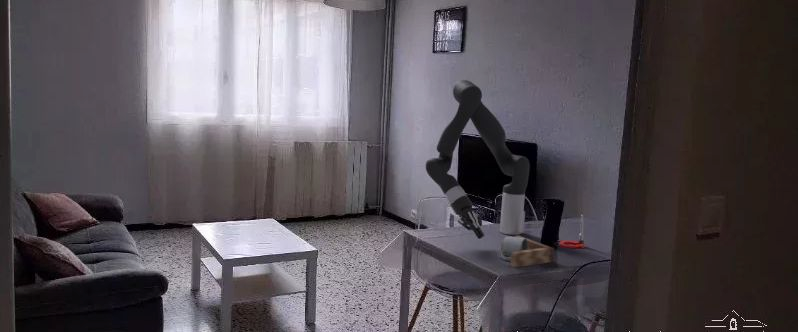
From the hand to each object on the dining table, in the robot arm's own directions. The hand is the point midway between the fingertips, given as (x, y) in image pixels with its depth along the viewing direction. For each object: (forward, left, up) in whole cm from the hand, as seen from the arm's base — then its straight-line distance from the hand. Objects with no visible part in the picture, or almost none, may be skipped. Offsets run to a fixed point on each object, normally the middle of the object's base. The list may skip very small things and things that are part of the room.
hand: (481, 237), depth 229 cm
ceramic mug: (-4, +14, -5) cm, 15 cm away
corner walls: (-5, +14, -4) cm, 15 cm away
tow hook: (-39, +9, -5) cm, 40 cm away
